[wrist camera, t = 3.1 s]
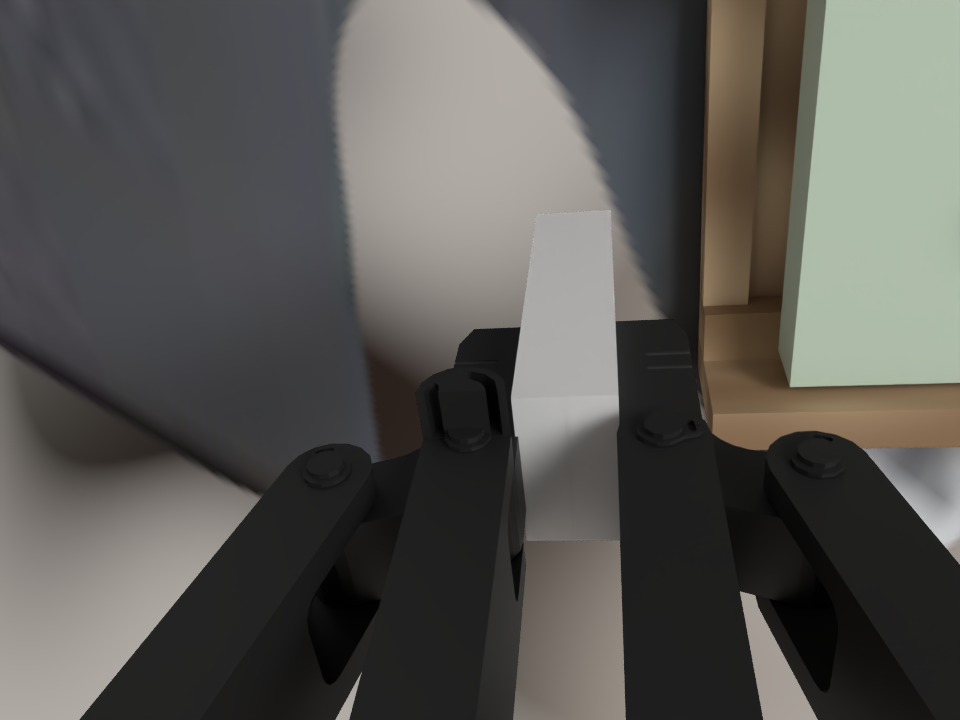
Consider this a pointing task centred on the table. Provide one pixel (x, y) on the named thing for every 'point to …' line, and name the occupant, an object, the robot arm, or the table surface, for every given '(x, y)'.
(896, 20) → the cover plate
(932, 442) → the oak box
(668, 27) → the table surface
